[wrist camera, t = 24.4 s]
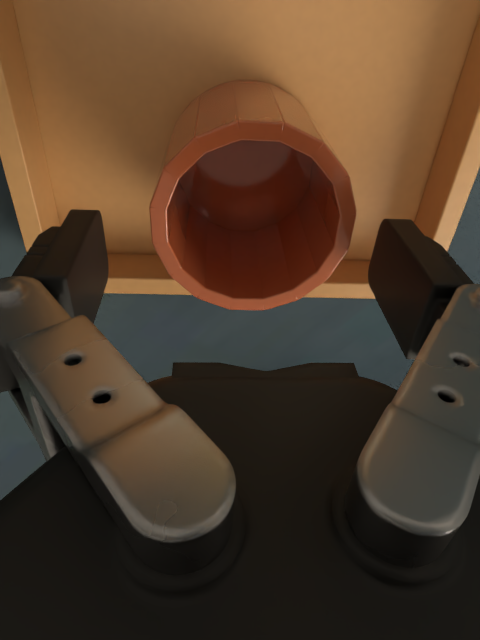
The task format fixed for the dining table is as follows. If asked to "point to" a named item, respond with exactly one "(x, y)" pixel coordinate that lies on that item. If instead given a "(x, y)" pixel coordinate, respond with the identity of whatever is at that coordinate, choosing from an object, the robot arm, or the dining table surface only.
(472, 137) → the serving tray
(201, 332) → the dining table surface
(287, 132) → the terracotta cup
